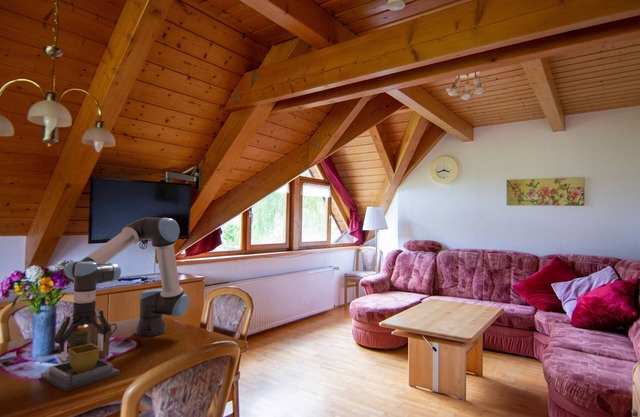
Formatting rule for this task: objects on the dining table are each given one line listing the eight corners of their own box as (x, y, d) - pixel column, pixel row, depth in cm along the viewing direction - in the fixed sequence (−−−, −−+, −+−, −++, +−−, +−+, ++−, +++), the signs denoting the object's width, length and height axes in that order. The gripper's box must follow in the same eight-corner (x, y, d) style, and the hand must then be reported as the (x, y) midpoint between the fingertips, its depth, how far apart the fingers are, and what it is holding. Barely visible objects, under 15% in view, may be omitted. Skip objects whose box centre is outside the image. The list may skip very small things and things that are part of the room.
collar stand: (94, 362, 167) (94, 353, 167) (119, 374, 156) (120, 364, 156) (40, 377, 151) (41, 367, 151) (64, 391, 140) (65, 380, 140)
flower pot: (99, 371, 155) (100, 348, 155) (74, 377, 148) (75, 353, 148) (90, 365, 160) (91, 343, 160) (66, 371, 153) (67, 348, 154)
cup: (101, 350, 181) (102, 328, 182) (61, 348, 183) (62, 326, 184) (117, 342, 194) (118, 321, 195) (80, 340, 196) (81, 320, 196)
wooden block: (102, 358, 172) (104, 317, 173) (84, 354, 176) (86, 314, 176) (109, 355, 176) (111, 315, 176) (91, 352, 179) (93, 313, 180)
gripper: (53, 308, 142) (51, 366, 141) (120, 297, 162) (118, 348, 162) (44, 305, 146) (42, 362, 146) (111, 294, 167) (109, 344, 166)
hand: (82, 354), depth 154 cm, fingers open, 13 cm apart
